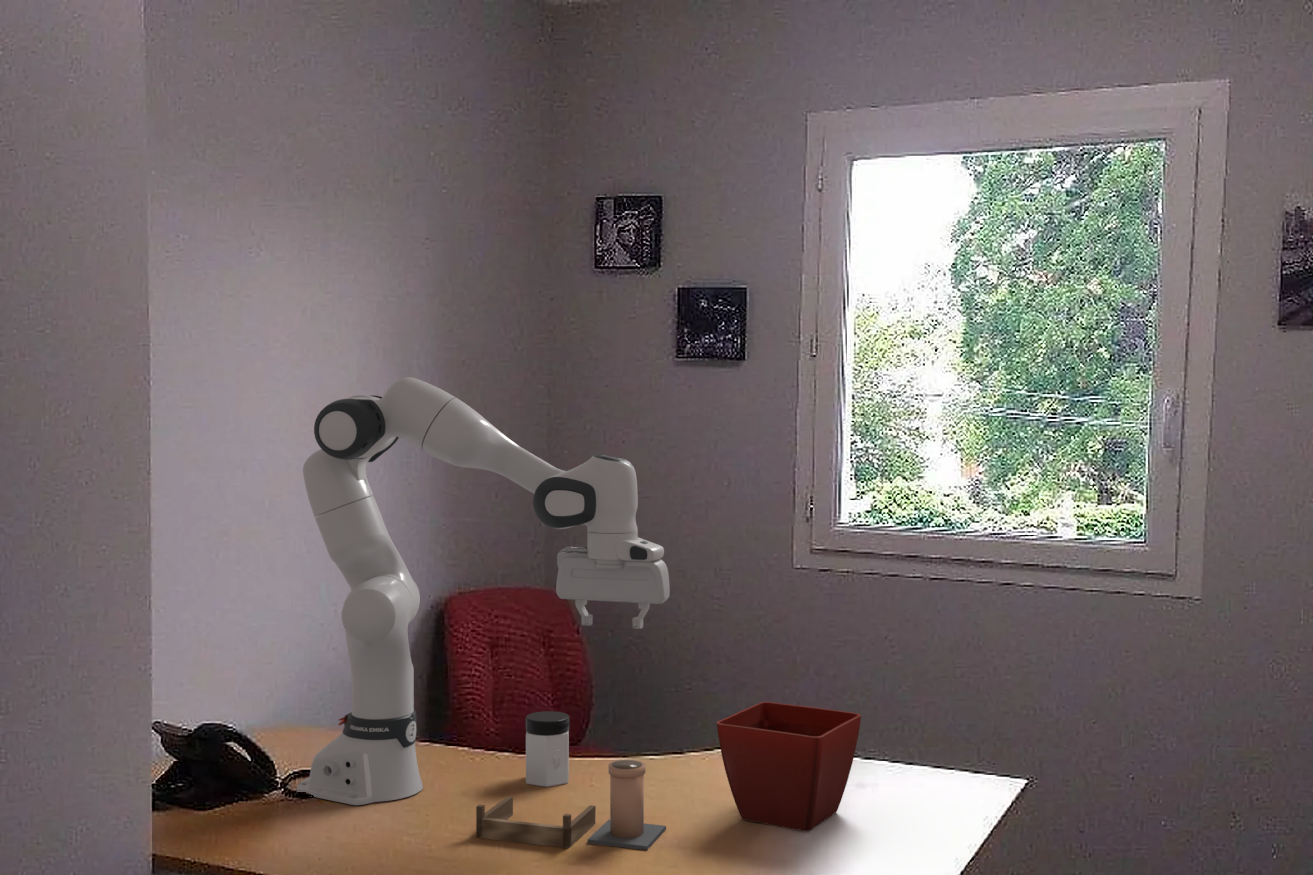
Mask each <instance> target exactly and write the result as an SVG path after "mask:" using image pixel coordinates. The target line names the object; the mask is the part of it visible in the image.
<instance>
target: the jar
mask: <svg viewBox="0 0 1313 875" xmlns="http://www.w3.org/2000/svg"><path fill="white" fill-rule="evenodd" d="M525 716H526V717H525V731H526V733H525V784H526V785H531V786H538V787H543V788H550V787H554V786H560V785H566V784H568V783H569V774H570V772H569V770H570V769H569V768H570V767H569V766H570V763H569V762H570V759H569V758H570V757H569V755H570V753H569V752H570V750H569V749H570V748H569V746H570V742H569V739H570V737H569V736H570V735H569V733H570V732H569V731H570V725H571V724H570V723H571V722H570V715H569V714H567V713H565V712H563V711H554V710H553V711H552V710H548V711H544V710H543V711H536V712H532V713H529V714H527V715H525Z"/></svg>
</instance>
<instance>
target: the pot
mask: <svg viewBox="0 0 1313 875" xmlns="http://www.w3.org/2000/svg"><path fill="white" fill-rule="evenodd" d="M646 767H647V766H646V763H645V762H644V761H642V760H637V759H618V760H617V759H616V760H614V761H613V760H612V761H610V762H609V763H608V774H609V775H610V777H609V780H610V782H609V787H610V788H609V791H610V793H609V794H610V795H609V799H610V802H609V804H610V806H609V808H610V809H609V814H610V816H609V817H610V818H609V820H610V834H611V835H613V836H615V837H618V838H635V837H639V836H641V835H642V834H643V833H644V820H645V819H644V818H645V817H644V816H645V815H644V814H645V813H644V811H645V809H644V808H645V807H644V805H645V804H644V802H645V801H644V798H645V794H644V793H645V792H644V791H645V790H644V788H645V787H644V786H645V784H644V783H645V782H644V781H645V779H644V778H645V774H646Z"/></svg>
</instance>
